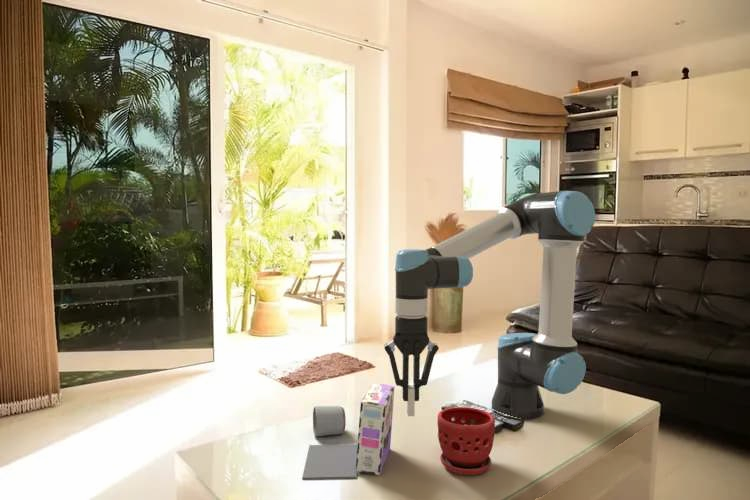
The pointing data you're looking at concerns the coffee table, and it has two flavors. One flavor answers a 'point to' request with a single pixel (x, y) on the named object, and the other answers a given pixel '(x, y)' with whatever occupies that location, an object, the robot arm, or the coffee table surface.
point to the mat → (331, 462)
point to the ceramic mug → (328, 420)
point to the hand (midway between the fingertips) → (410, 413)
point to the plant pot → (466, 439)
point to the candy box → (375, 428)
